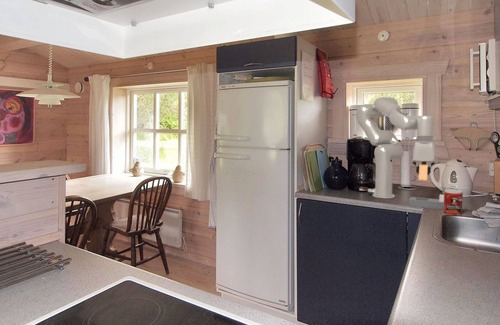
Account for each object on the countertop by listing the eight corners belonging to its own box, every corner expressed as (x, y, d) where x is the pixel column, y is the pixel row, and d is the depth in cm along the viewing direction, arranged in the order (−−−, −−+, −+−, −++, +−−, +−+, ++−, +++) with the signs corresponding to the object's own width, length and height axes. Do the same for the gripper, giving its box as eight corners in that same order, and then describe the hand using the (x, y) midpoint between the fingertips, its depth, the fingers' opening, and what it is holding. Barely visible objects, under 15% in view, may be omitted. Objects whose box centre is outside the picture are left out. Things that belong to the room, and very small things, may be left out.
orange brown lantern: (418, 179, 179) (419, 160, 179) (419, 180, 182) (420, 161, 183) (427, 180, 177) (428, 160, 177) (427, 180, 180) (428, 161, 181)
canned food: (444, 214, 163) (445, 191, 162) (442, 210, 170) (443, 188, 169) (463, 215, 160) (464, 192, 159) (460, 211, 167) (461, 189, 166)
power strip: (408, 206, 180) (409, 194, 180) (410, 203, 187) (410, 191, 187) (452, 210, 170) (453, 197, 170) (452, 207, 177) (453, 194, 176)
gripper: (406, 139, 178) (405, 174, 180) (442, 139, 170) (441, 176, 172) (407, 139, 185) (406, 172, 187) (443, 139, 176) (441, 174, 178)
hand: (423, 174), depth 179 cm, fingers closed on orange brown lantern, 4 cm apart
